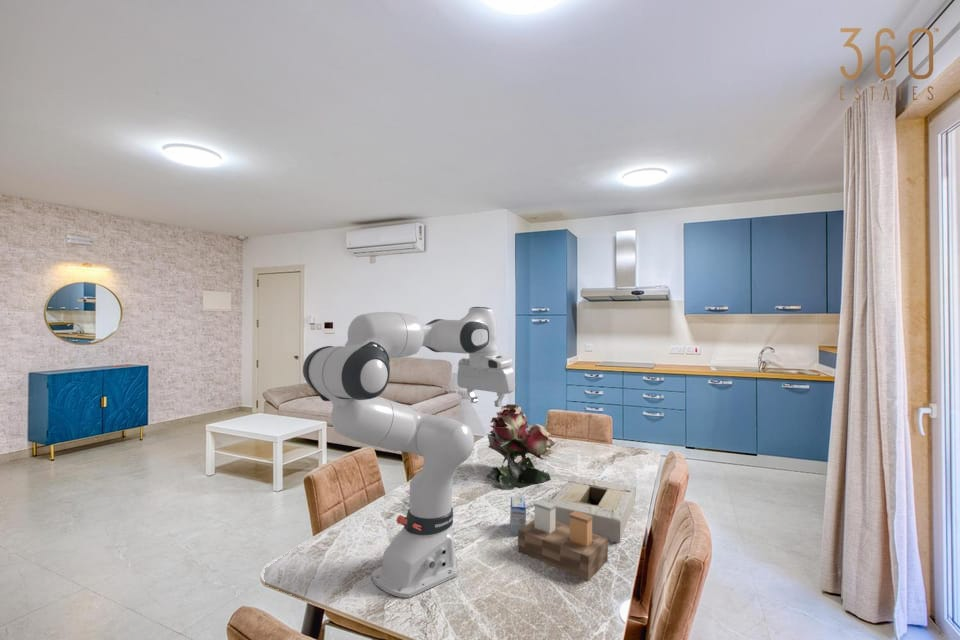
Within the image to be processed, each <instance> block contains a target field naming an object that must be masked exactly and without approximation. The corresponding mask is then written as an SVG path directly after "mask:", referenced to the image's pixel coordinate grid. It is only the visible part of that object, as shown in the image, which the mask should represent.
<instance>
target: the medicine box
mask: <svg viewBox="0 0 960 640" xmlns="http://www.w3.org/2000/svg"><path fill="white" fill-rule="evenodd" d="M509 512H510V513H509V514H510V517H509V519H510V523H509V525H510V534H511V535H512V536H518V530H520V529H521V528H523V527H524V526H526V525H527V507H526V501H525V496H524V497H523V496H510V511H509Z"/></svg>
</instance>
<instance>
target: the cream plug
mask: <svg viewBox="0 0 960 640" xmlns="http://www.w3.org/2000/svg"><path fill="white" fill-rule="evenodd" d="M533 507H534V520H535V526H534V528H536V529H539V530H542V531H544V532H547V533H550V534H551V533H552V532H553V531H555V515H556V505H555V504H552V503H549V501H546V500H545V501H544V500H542V499H539V500H537V501H535V502H534V503H533Z"/></svg>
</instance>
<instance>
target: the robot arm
mask: <svg viewBox="0 0 960 640" xmlns="http://www.w3.org/2000/svg"><path fill="white" fill-rule="evenodd" d="M497 338H498V328H497V319H496V314H495V311H494V309H492V308H490V307H485V306H472V307H470V308H468V312H467V314H466V315H465V316H464V317H462V318H461V319H441V318H436V319H433V320H430V321H429V322H427V323H425V324H422V322H421V320H419V318H417V317H416V316H413V315H411V314H407V313H401V312H394V311H390V312H389V311H380V312H379V311H378V312H377V311H376V312H369V313H363V314H359V315H357V316H356V317H355V318H353V319H352V321H351V322H350V324H349V326H348V329H347V341H346V343H345V344H344V346H343V345H342V346H341V345H340V346H339V345H337V346H332V345H327V346H322V347H319V348H317V349H315V350H313V351H311V352H310V353H309V354H308V355H307V356H306V358H305V360H304V362H303V366H302V374H303V378H304V380H305V382H306V383H307V384H308V386H310V388H311V389H312V390H313V391H314V392H316V394H317V395H318V396H319V398H320V399H321V400H322V401H324V402H331V403H332V410H331V413H330V422H331V426H332V427H333V430H334V431H336V433H338V434H339V435H341V436H343V437H345V438H348V439H349V440H352V441H354V442H356V443H360V444H363V445H368V446H372V447H375V448H381V449H386V450H389V451H394V452H404V453H408V454H413V455H415V456H416V455H417V456H418V457H423V465H422V468H421V471H418V472H417V473H416V474H415V475H414V476H413V477H412V478H411V480H410V482H409V508H408V510H407V514H406V517H405V516H403V515H401V514H399V515H398V516H397V517H396V523H397V524H399V525H402V526H403V527H402V529H401V530H400V531H399V532H398V534H397V535H396V537H394V539H393V540H392V541H391V543H390V544H389V545H388V546H387V547H386V549H385V550H384V552H383V556H382V561H381V565H380V566H379V567H377V568H376V569H375V570H373V571H372V572H371V573H372V575H371V580H372V581H373V583H374V584H375V585H376V586H377V587H378V588H380V589H381V590H382V591H384V592H386V593H387V594H390V595H393V596H395V597H399V598H405V599H407V598H411V597H413V596H415V595H419V594H420V593H422V592H424V591H427V590H429V589H431V588H433V587H436V586H438V585H440V584H442V583H444V582H446V581H449V580H451V579H454V578H455V577H457V576H458V573H459V572H458V568H457V564H458V559H457V556H456V553H455V551H456V550H455V542H454V535H453V529H452V526H453V524H454V510H453V509H454V508H453V506H452V502H453V501H452V500H453V499H452V497H453V482H454V478H455V475H456V471H457V470H458V468H459V466H460V465H461V464H463V463H464V462H465V461H466V460H468V458H469V457H470V456H471V455H472V453H473V450H474V446H475V436H474V432H473V430H472V429H471V427H470V426H469V425H467V424H465V423H463V422H461V421H459V420H457V419H454V418H449V417H444V416H440V415H435V414H431V413H425V412H421V411H418V410H416V409H413V408H412V407H410V406H409V405H406V404H402V403H400V402H398V401H397V402H396V401H394V400H391V399H387V398H385V397H383V396H382V397H381V396H380V395H381V394H383V393H384V391H385V390H386V388H387V386H388V384H389V380H390V377H391V374H390V373H391V367H390V359H398V358H406V357H410V356H413V355H415V354H417V353H418V352H420V349H421V348H422V347H425V348H427V350H430V351H432V352H435V353H452V354H465V355H466V354H468V358H465V357H462V358H460V360H459V361H457V362H458V364H457V365H458V366H457V367H458V368H457V374H456V375H457V378H456V379H457V382H456V384H457V386H458V387H459V388H461V389H463V388H464V389H466V392H467V394H468V396H469V398H470V403H472V404H477V403H478V401H479V400H478V397H479V396H476V394H475V392H474V391H475V390H477V391H483V392H484V391H485V392H492V393H496V397H497V399H496V400H494V407H495V408H496V407H497V408H502V406H503V399H504V397H505V396H506V395H507V394H511V393H513V392H514V391H515V389H516V380H515V379H516V378H515V372H514V369H513V368H512V367H511V366H513V362H514V361H513V359H512V358H510V357H508V356H506V355H504V354H502V353H500V352H499V349H498V345H497Z"/></svg>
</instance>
